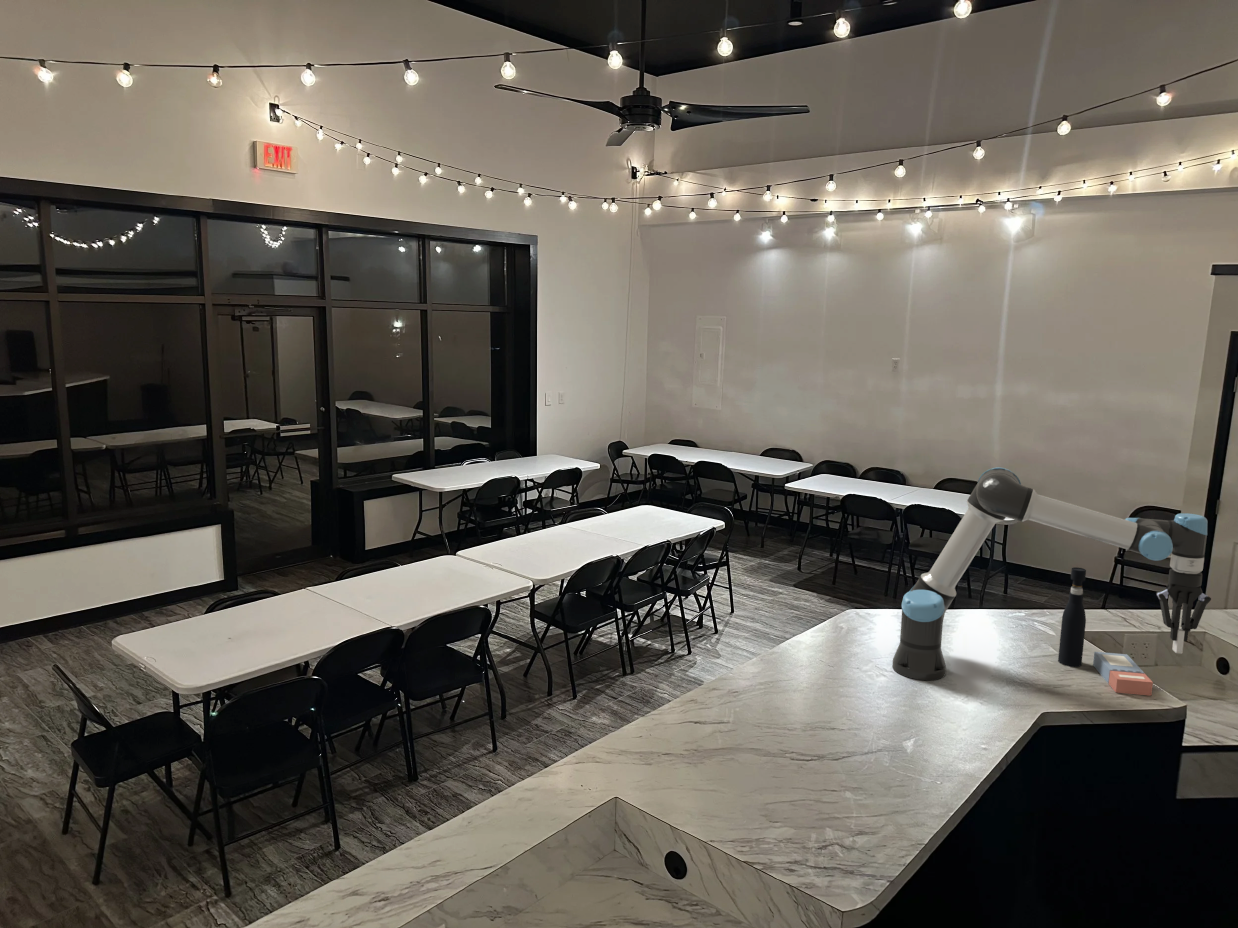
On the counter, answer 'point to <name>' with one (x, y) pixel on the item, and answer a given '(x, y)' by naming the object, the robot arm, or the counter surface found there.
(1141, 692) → the red box
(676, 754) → the counter surface
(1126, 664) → the blue labeled box
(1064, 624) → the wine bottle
